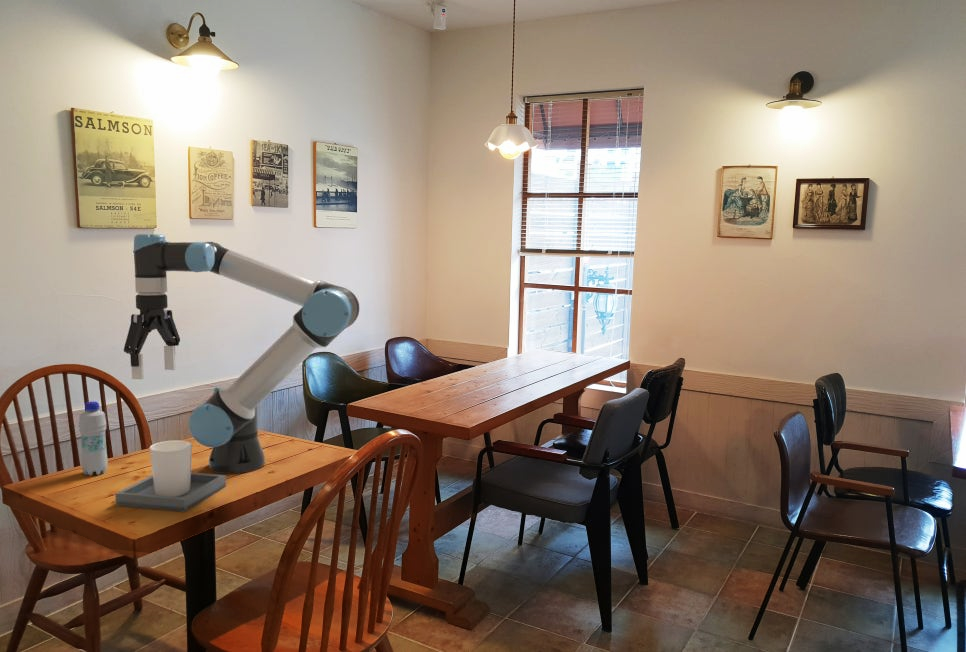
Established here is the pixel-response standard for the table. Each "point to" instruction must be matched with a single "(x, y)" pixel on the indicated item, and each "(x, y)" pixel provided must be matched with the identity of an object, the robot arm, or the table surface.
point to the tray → (146, 497)
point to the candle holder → (171, 467)
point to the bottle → (93, 439)
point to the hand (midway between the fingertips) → (154, 374)
